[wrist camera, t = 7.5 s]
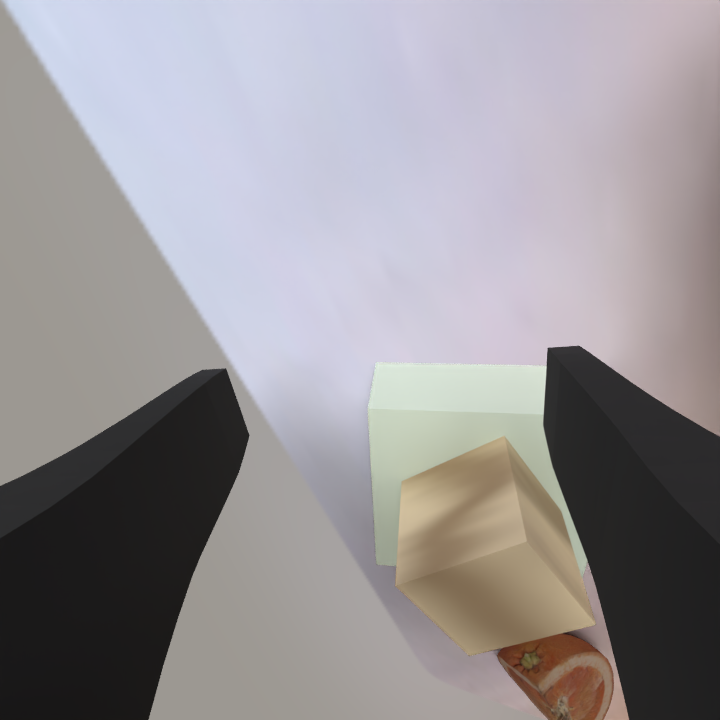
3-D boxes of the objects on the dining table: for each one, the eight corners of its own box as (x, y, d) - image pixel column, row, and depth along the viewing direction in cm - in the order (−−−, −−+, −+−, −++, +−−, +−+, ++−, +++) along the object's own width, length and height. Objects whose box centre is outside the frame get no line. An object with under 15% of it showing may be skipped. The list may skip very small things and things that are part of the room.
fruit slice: (476, 610, 31) (483, 694, 27) (580, 591, 29) (606, 681, 25) (518, 673, 35) (531, 757, 30) (615, 661, 32) (643, 750, 28)
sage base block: (599, 361, 21) (632, 417, 18) (561, 514, 26) (581, 580, 23) (376, 357, 22) (367, 408, 19) (382, 504, 27) (376, 564, 24)
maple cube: (504, 435, 19) (526, 541, 15) (561, 510, 20) (596, 624, 16) (401, 481, 21) (394, 586, 16) (461, 546, 22) (469, 656, 18)
